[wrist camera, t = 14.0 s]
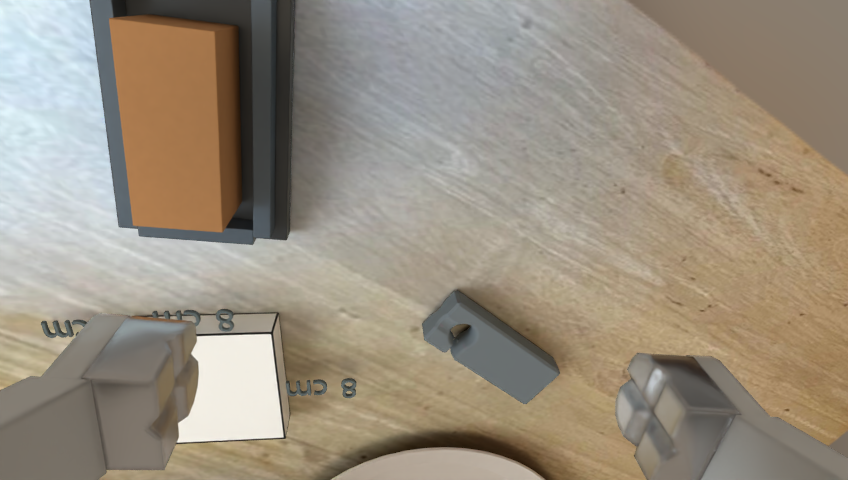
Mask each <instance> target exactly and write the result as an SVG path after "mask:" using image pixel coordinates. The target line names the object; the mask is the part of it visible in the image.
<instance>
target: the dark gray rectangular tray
mask: <svg viewBox="0 0 848 480" xmlns="http://www.w3.org/2000/svg"><path fill="white" fill-rule="evenodd" d="M294 2H295V0H90V8H91V15H92V23H93V31H94V39H95V46H96V54H97V62H98V70H99V77H100V85H101V93H102V101H103V108H104V116H105V124H106V132H107V139H108V147H109V155H110V163H111V170H112V178H113V186H114V194H115V201H116V209H117V217H118V225H119V227H122V228H135V229H138V232H139V236H143V237H156V238H169V239H183V240H196V241H209V242H222V243H236V244H249V245H253V244H254V242H255V240H256V238H264V239H277V240H287V238H288V235H289V232H290V186H291V140H292V94H293V48H294ZM147 14H151V15H159V16H166V17H174V18H182V19H190V20H197V21H205V22H213V23H221V24H229V25H236V26H238V27H239V74H240V123H241V171H242V203H241V204H240V206H239V208H238V209H237V211H236V212H235V214H234V215H233V217H232V219H231V220H230V222H229V223H228V225H227V226H226V228H225V230H224V231H223V232H222V233H221V232H208V231H195V230H182V229H169V228H157V227H144V226H133V221H132V212H131V204H130V195H129V187H128V178H127V170H126V161H125V152H124V144H123V135H122V127H121V118H120V110H119V101H118V93H117V84H116V76H115V67H114V59H113V50H112V42H111V33H110V24H109V18H115V17H126V16H136V15H147Z"/></svg>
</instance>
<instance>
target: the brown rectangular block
mask: <svg viewBox="0 0 848 480" xmlns="http://www.w3.org/2000/svg"><path fill="white" fill-rule="evenodd" d="M109 24H110V33H111V42H112V50H113V59H114V67H115V76H116V84H117V93H118V101H119V110H120V118H121V127H122V135H123V144H124V152H125V161H126V170H127V178H128V187H129V195H130V204H131V212H132V221H133V226H144V227H157V228H169V229H182V230H195V231H208V232H221V233H222V232H223V231H224V230H225V228H226V226H227V225H228V223H229V222H230V220H231V219H232V217H233V215H234V214H235V212H236V211H237V209H238V208H239V206H240V204H241V203H242V171H241V123H240V74H239V27H238V26H236V25H229V24H221V23H213V22H205V21H197V20H190V19H182V18H174V17H166V16H159V15H151V14H147V15H136V16H126V17H115V18H109Z"/></svg>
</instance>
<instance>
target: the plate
mask: <svg viewBox="0 0 848 480" xmlns="http://www.w3.org/2000/svg"><path fill="white" fill-rule="evenodd" d="M331 480H545V479H544V478H543V477H542V476H540V475H539V474H537V473H536V472H535V471H533V470H532V469H530V468H528V467H526V466H525V465H523V464H521V463H519V462H517V461H514V460H512V459H509V458H506V457H504V456H501V455H497V454H493V453H489V452H486V451H480V450H473V449H467V448H449V447H441V448H423V449H415V450H408V451H402V452H398V453H394V454H389V455H385V456H382V457H379V458H376V459H373V460H370V461H367V462H364V463H362V464H360V465H357V466H355V467H353V468H351V469H348V470H347V471H345V472H343V473H341V474H340V475H338V476H336V477H334V478H333V479H331Z"/></svg>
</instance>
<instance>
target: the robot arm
mask: <svg viewBox="0 0 848 480" xmlns="http://www.w3.org/2000/svg"><path fill="white" fill-rule="evenodd" d="M196 342H197V335H196V325H195V324H194V323H193V322H192V321H186V320H175V319H164V318H153V317H142V316H128V315H116V314H103V313H101V314H98V315H95V316H93V317H92V318H91V319H90V320H89V322H88V323H87V324H86V325H85V326H84V327H83V329H82V330H81V331H80V332H79V333H78V334H77V336H76V337H75V338H74V339H73V340H72V341H71V343H70V344H69V345H68V346H67V347H66V348H65V349H64V351H63V352H62V353H61V354H60V355H59V356H58V358H57V359H56V360H55V361H54V362H53V363H52V365H51V366H50V367H49V368H48V369H47V370H46V371H45V373H44V374H43V375H42V376H41V377H35V376H30V377H28V378H26V379H24V380H21V381H19V382H17V383H15V384H13V385H11V386H8V387H6V388H4V389H2V390H0V480H99V479H100V478H101V477H102V476H103V475H105V474H106V470H165V467H166V465H167V463H168V461H169V458H170V456H171V454H172V452H173V449H174V447H175V445H176V443H177V441H178V438H179V429H178V423H179V422H180V421H182V420H183V419H185V418H186V417H188V416H189V413H190V411H191V408H192V406H193V404H194V400H195V396H196V392H197V387H198V377H199V366H198V361H197V360H196V359H195V358H194V356H193V355H192V354H191V352H192V350H193V348H194V346H195V344H196ZM627 370H628V372H629V375H630V377H631V379H630V380H629V381H628V382H626V383H625V384H624V385H622V386H621V387H620V389H619V392H618V395H617V398H616V401H615V416H616V419H617V423H618V426H619V428H620V430H621V432H622V434H623V436H624V437H625V438H626V439H627V440H629V441H630V442H631V443H632V444H634V445H635V446H636V451H635V455H634V457H635V459H636V461H637V462H638V464H639V466H640V468H641V470H642V472H643V474H644V475H645V477H646V479H647V480H848V457H846V456H844V455H842V454H841V453H839V452H837V451H835V450H834V449H832V448H830V447H829V446H827V445H825V444H823V443H822V442H820V441H818V440H816V439H815V438H813V437H811V436H810V435H808V434H806V433H804V432H803V431H801V430H799V429H797V428H796V427H794V426H792V425H791V424H789V423H787V422H785V421H784V420H782V419H780V418H778V417H770V416H769V415H768V414H767V412H766V411H765V410H764V409H763V408H762V407H761V406H760V405H759V404H758V402H757V401H756V400H755V399H754V398H753V397H752V396H751V395H750V394H749V393H748V391H747V390H746V389H745V388H744V387H743V386H742V385H741V384H740V383H739V381H738V380H737V379H736V378H735V377H734V376H733V375H732V374H731V373H730V371H729V370H728V369H727V368H726V367H725V366H724V365H723V364H722V363H721V361H720V360H718V359H716V358H714V357H712V356H694V355H686V356H678V355H662V354H647V353H637V354H636V355H635V356H634V357H633V358H632V359H631V362H630V364H629V367H628V369H627Z"/></svg>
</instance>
